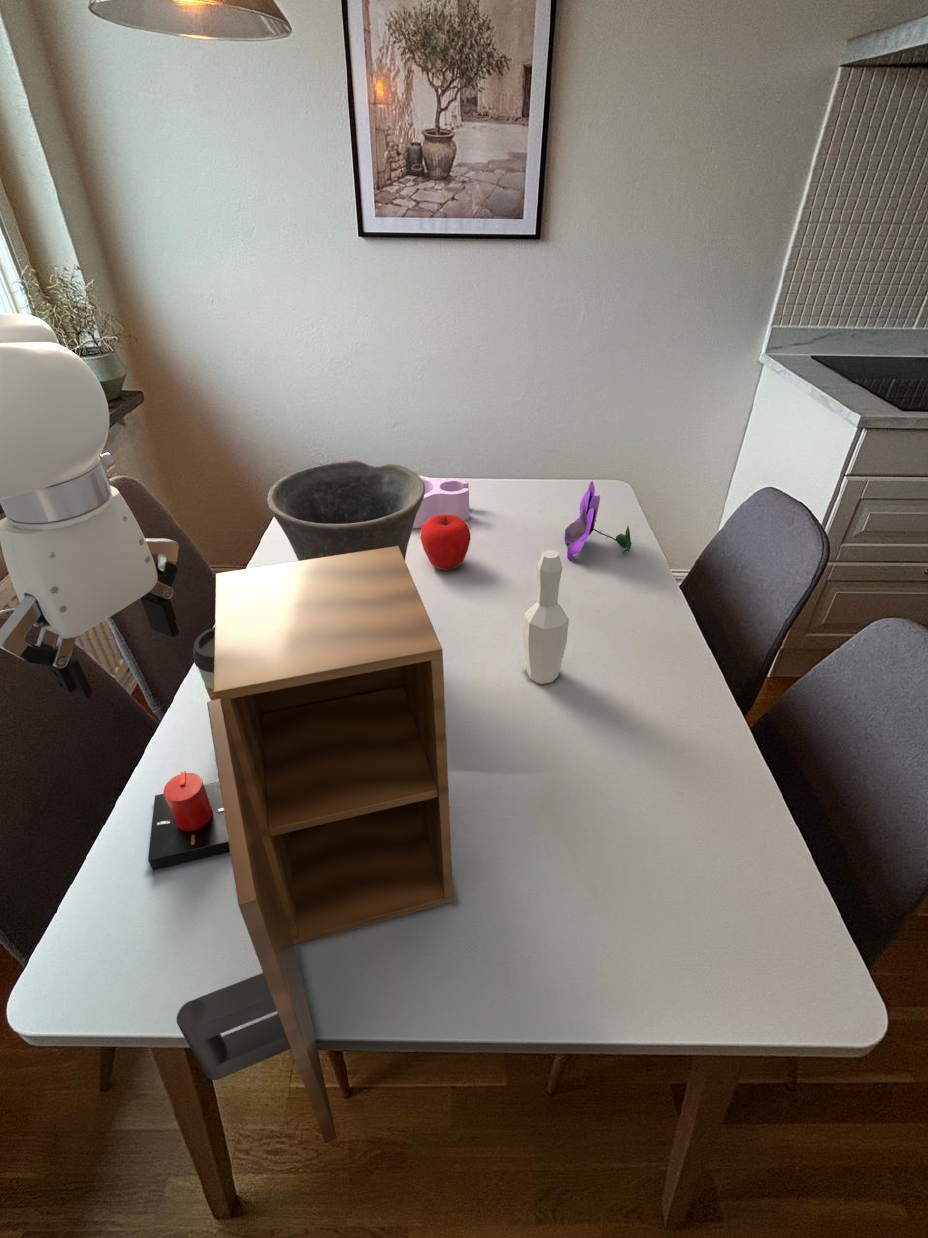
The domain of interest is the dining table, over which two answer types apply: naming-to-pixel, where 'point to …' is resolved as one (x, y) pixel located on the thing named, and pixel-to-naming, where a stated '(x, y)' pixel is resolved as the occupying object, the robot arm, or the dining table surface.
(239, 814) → the cupboard door
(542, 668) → the faceted bottle
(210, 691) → the coffee cup
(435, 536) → the apple
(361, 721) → the cupboard
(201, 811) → the valve knob
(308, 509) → the vase
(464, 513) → the purple cup holder
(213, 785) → the valve panel
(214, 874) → the dining table surface
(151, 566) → the robot arm
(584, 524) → the flower
